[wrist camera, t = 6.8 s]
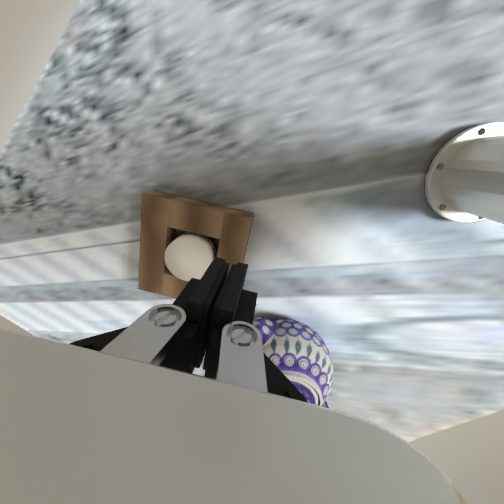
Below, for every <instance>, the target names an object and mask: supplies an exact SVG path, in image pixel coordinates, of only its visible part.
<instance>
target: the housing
mask: <svg viewBox="0 0 504 504" xmlns="http://www.w3.org/2000/svg"><path fill="white" fill-rule="evenodd" d="M253 216H254V213H251V212H247V211H242V210H238V209H234V208H229V207H225V206H221V205H217V204H212V203H208V202H204V201H199V200H195V199H191V198H186V197H182V196H178V195H174V194H169V193H165V192H161V191H156V190H154V191H150V192H147V193H143V194H142V207H141V235H140V263H139V289H141V290H145V291H149V292H153V293H158V294H162V295H166V296H170V297H174V298H177V297H178V296H179V295H180V293H181V292H182V290H183V289H184V288H185V286H186V285H187V284H188V282H189V281H184V280H181V279H179V278H177V277H176V276H174V275H173V274H172V273H171V272H170V271H169V269H168V268H167V266H166V263H165V251H166V249H167V247H168V245H169V244H170V243H171V242H173V241H174V240H175V239H176V230H177V229H179V230H183V231H187V232H192V233H196V234H200V235H205V236H209V237H213V238H217V239H220V241H219V247H218V252H217V257H218V258H222V259H226V263H229V269H228V273H229V271H230V269H231V266H232V264H235V265H236V264H237V262H239V263H243V262H244V257H245V253H246V248H247V244H248V239H249V235H250V230H251V225H252V221H253Z"/></svg>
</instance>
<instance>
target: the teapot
mask: <svg viewBox="0 0 504 504" xmlns="http://www.w3.org/2000/svg"><path fill="white" fill-rule="evenodd" d="M253 326H255V327H256V328H257V329H258V330H259V332H260V333H261V336H262V344H263V352H264V353H265V354H266V356H267V357H268V358H269V359H270V360H271V361H272V362H273V363H274V364H275V365H276V366H277V367H278V369H279V370H280V371H281V372H282V373H283V374H284V375H285V376H286V377H287V378H288V379H289V380H290V381H291V383H292V384H293V385H294V386H295V387H296V388H297V389H298V390H299V391H300V392H301V393H302V394H303V396H304V397H305V398H306V400H307V401H308V403H311V404H315V405H319V406H322V407H325V408H329V407H328V405H327V402H326V400H327V398H328V396H329V394H330V391H331V388H332V384H333V364H332V360H331V356H330V353H329V350H328V348H327V347H326V345H325V343H324V341H323V340H322V338H321V337H320V336H319V335H318V334H317V333H316V332H315V331H314V330H312V329H311V328H310V327H308V326H307V325H305V324H303V323H301V322H298V321H294V320H284V319H282V320H275V321H272V320H270V319H268V318H264V317H257V318H254V319H253Z"/></svg>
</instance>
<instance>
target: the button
mask: <svg viewBox="0 0 504 504" xmlns="http://www.w3.org/2000/svg"><path fill="white" fill-rule="evenodd" d="M215 257H216V250H215V246H214V244H213V243H212V241H211V240H210V239H209V238H208V237H207V236H205V235H200V234H196V233H192V232H185V233H183V234H181V235H180V236H179V237H178V238H176V239H175V240H174V241H173V242H171V243H170V244H169V245H168V247H167V249H166V251H165V263H166V266H167V268H168V269H169V271H170V272H171V273H172V274H173V275H174V276H176V277H177V278H179V279H181V280H184V281H190V279H191V278H195V279H201V278H202V276H203V275H204V273H205V272H206V270H207V268H208V267H209V265H210V264H211V262H212V261H213V259H214V258H215Z"/></svg>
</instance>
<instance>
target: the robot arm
mask: <svg viewBox="0 0 504 504" xmlns="http://www.w3.org/2000/svg"><path fill="white" fill-rule="evenodd" d="M437 165H438V167H437ZM425 193H426V197H427V200H428V203H429V204H430V206H431V208H432V209H433V210H434V211H435V212H436V213H437V214H438V215H440V216H442V217H443V218H446V219H448V220H451V221H455V222H459V223H474V222H480V221H483V220H487V219H489V220H493V221H496V222H500V223H503V224H504V122H493V123H486V124H481V125H477V126H474V127H471V128H469V129H467V130H465V131H463V132H461V133H459V134H458V135H456V136H455V137H454V138H452V139H451V140H450V141H448V142H447V143H446V144H445V145H444V146H443V147H442V148H441V149H440V151H439V152H438V153H437V155H436V156H435V158H434V159H433V161H432V163H431V165H430V167H429V169H428V173H427V176H426V182H425ZM247 268H248V264H243V263H239V262H237V264H236V265H235V264H232V266H231V269H230V271H229V273H228V269H229V263H226V259H222V258H218V257H215V258H214V259H213V261H212V262H211V264H210V265H209V267H208V268H207V270H206V272H205V273H204V275H203V276H202V278H201V279H195V278H191V279H190V281H189V282H188V284H187V285H186V286H185V288H184V289H183V290H182V292H181V293H180V295H179V296H178V297H177V299H176V300H175V301H174V303H173V304H172V305H171V304H162V305H157V306H154V307H152V308H150V309H149V310H147V311H146V312H145V313H144V314H143V315H142V316H140V317H139V318H138V319H137V320H136V321H135V322H133V323H132V324H131V325H130V326H129V327H126V328H122V329H119V330H115V331H111V332H108V333H104V334H100V335H97V336H93V337H89V338H86V339H82V340H78V341H76V342H73V343H70V344H66V343H62V342H58V341H53V340H49V339H45V338H41V337H36V336H32V335H27V334H22V333H18V332H13V331H7V330H2V329H0V504H467V503H466V501H465V500H464V498H463V497H462V495H461V494H460V492H459V491H458V490H457V488H456V487H455V485H454V484H453V483H452V481H451V480H450V479H449V478H448V477H447V475H445V473H444V472H443V471H442V470H441V469H440V468H439V467H438V466H437V465H436V464H435V463H434V462H433V461H432V460H431V459H430V458H428V457H427V456H426V455H425V454H423V453H422V452H421V451H419V450H418V449H417V448H415V447H414V446H413V445H411V444H410V443H408V442H406V441H405V440H403V439H401V438H400V437H398V436H396V435H395V434H393V433H391V432H390V431H388V430H386V429H384V428H381V427H379V426H377V425H375V424H373V423H371V422H369V421H366V420H363V419H361V418H358V417H355V416H352V415H350V414H346V413H343V412H339V411H336V410H332V409H329V408H325V407H322V406H319V405H315V404H311V403H308V401H307V400H306V398H305V397H304V396H303V394H302V393H301V392H300V391H299V390H298V389H297V388H296V387H295V386H294V385H293V384H292V383H291V381H290V380H289V379H288V378H287V377H286V376H285V375H284V374H283V373H282V372H281V371H280V370H279V369H278V367H277V366H276V365H275V364H274V363H273V362H272V361H271V360H270V359H269V358H268V357H267V356H266V354H265V353H264V352H263V344H262V336H261V333H260V332H259V330H258V329H257V328H256V327H255V326H253V318H254V312H255V306H256V300H257V293H255V292H251V291H247V290H243V286H244V281H245V277H246V272H247ZM205 352H206V353H205ZM204 354H205V359H204V365H203V369H204V370H206V371H205V376H204V377H203V376H199V375H195V374H192V373H193V370H194V368H195V367H196V368H199V367H200V365H201V362H202V360H203V357H204Z"/></svg>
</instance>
